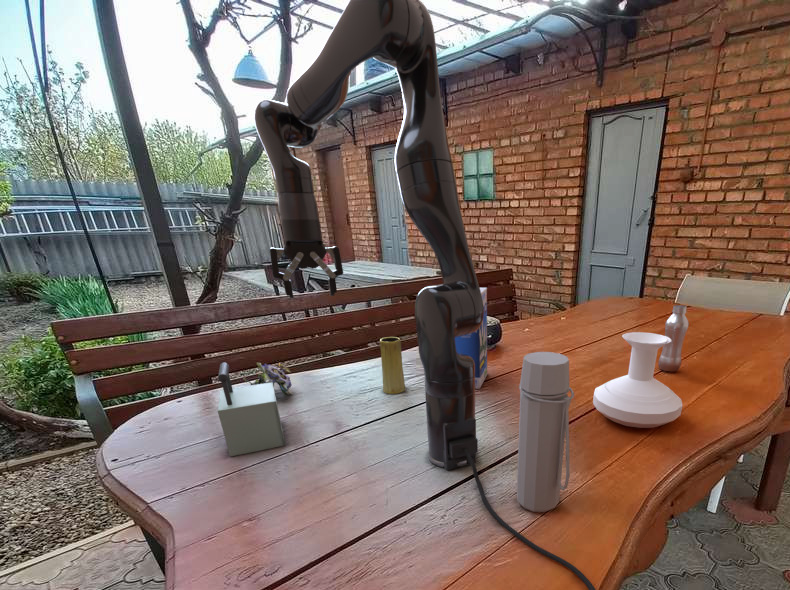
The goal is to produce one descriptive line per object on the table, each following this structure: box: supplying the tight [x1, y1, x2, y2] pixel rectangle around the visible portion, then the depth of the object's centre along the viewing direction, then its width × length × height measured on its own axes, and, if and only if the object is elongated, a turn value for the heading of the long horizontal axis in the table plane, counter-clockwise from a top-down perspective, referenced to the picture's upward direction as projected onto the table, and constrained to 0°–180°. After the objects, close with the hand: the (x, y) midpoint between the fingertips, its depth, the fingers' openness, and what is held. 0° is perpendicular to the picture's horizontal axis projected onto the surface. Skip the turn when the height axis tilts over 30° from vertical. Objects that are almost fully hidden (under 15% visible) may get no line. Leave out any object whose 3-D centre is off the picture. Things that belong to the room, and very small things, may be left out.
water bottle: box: [516, 351, 575, 513], centre depth 65 cm, size 9×8×25 cm
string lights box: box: [455, 287, 488, 390], centre depth 119 cm, size 13×8×26 cm, turn 171°
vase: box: [379, 336, 407, 395], centre depth 114 cm, size 6×6×14 cm
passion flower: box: [242, 362, 293, 396], centre depth 110 cm, size 11×11×12 cm
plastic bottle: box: [657, 304, 690, 372], centre depth 129 cm, size 6×7×20 cm
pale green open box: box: [217, 362, 286, 457], centre depth 87 cm, size 12×16×10 cm
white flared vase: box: [592, 331, 683, 429], centre depth 98 cm, size 20×20×19 cm
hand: (312, 296), depth 95 cm, fingers open, 8 cm apart
